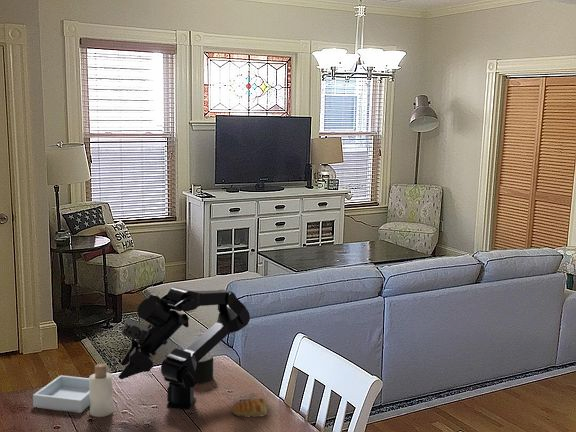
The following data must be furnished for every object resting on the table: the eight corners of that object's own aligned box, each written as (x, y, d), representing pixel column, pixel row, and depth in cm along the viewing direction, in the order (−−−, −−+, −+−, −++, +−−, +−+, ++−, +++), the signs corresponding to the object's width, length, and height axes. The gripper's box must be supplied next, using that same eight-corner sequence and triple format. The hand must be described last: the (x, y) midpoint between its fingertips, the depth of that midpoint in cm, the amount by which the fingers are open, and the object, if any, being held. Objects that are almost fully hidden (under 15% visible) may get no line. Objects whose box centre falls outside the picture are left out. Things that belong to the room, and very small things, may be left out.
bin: (105, 391, 188) (104, 380, 187) (80, 412, 174) (80, 400, 174) (60, 386, 190) (60, 375, 190) (33, 407, 177) (32, 395, 176)
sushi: (179, 378, 198) (179, 354, 197) (199, 370, 205) (199, 346, 203) (198, 386, 193) (198, 360, 192) (218, 377, 200) (218, 352, 199)
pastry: (234, 420, 173) (234, 406, 172) (230, 409, 179) (230, 396, 179) (268, 417, 175) (268, 403, 175) (263, 406, 182) (263, 393, 181)
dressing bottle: (116, 408, 178) (116, 362, 176) (106, 418, 172) (105, 371, 170) (96, 405, 179) (95, 360, 177) (85, 415, 173) (84, 369, 171)
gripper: (141, 300, 181) (101, 339, 181) (138, 321, 163) (94, 365, 163) (170, 326, 184) (130, 365, 184) (171, 349, 166) (127, 393, 166)
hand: (120, 371), depth 174 cm, fingers open, 9 cm apart
